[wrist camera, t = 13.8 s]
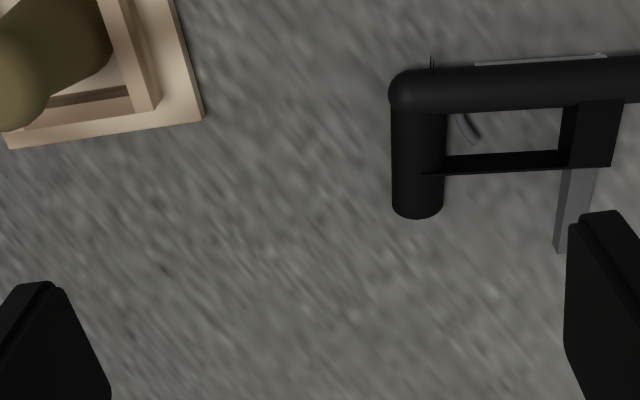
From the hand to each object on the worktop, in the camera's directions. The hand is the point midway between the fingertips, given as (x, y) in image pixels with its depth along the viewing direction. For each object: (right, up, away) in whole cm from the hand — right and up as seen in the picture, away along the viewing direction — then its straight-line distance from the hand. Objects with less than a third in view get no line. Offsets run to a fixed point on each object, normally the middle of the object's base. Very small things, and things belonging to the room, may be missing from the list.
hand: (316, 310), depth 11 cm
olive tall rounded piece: (-16, +13, +27) cm, 34 cm away
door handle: (+15, +6, +32) cm, 36 cm away
